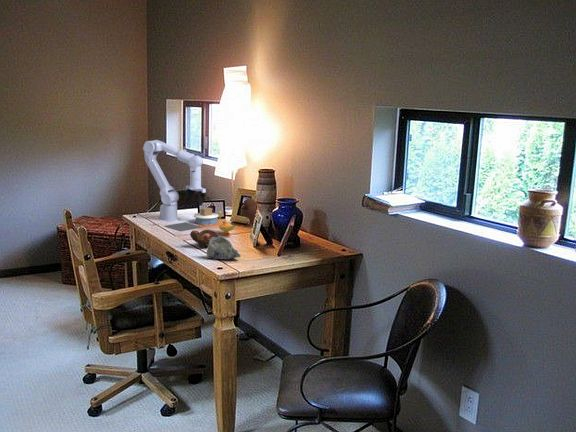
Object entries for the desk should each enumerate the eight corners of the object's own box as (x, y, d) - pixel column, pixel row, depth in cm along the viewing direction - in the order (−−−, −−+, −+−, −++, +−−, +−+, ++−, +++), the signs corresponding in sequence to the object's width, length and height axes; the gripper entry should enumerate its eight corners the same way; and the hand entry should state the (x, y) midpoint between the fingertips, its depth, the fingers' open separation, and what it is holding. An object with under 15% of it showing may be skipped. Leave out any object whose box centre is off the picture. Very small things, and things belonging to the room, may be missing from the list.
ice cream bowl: (261, 228, 298) (261, 200, 295) (239, 228, 298) (239, 199, 295) (262, 224, 308) (262, 196, 305) (241, 223, 308) (241, 196, 305)
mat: (163, 227, 296) (163, 226, 296) (185, 223, 306) (185, 222, 306) (180, 232, 286) (180, 231, 286) (203, 228, 296) (203, 227, 296)
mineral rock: (242, 261, 241) (242, 237, 239) (220, 265, 234) (220, 241, 232) (224, 253, 250) (225, 231, 248) (203, 257, 244) (203, 234, 242)
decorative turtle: (187, 245, 263) (188, 227, 261) (220, 245, 268) (221, 228, 267) (192, 249, 254) (193, 231, 253) (225, 249, 259) (226, 232, 258)
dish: (192, 223, 307) (192, 215, 306) (208, 220, 315) (208, 213, 314) (205, 226, 299) (205, 219, 299) (221, 223, 307) (221, 216, 306)
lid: (188, 215, 305) (188, 208, 305) (208, 212, 315) (208, 205, 314) (204, 219, 297) (204, 212, 296) (223, 216, 306) (223, 208, 305)
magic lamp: (231, 240, 274) (231, 217, 271) (212, 232, 288) (212, 210, 286) (243, 238, 278) (244, 216, 276) (224, 230, 292) (224, 209, 290)
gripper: (181, 178, 305) (181, 203, 308) (198, 181, 295) (198, 207, 298) (191, 176, 310) (191, 201, 313) (208, 180, 300) (208, 205, 303)
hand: (195, 204), depth 306 cm, fingers open, 7 cm apart
